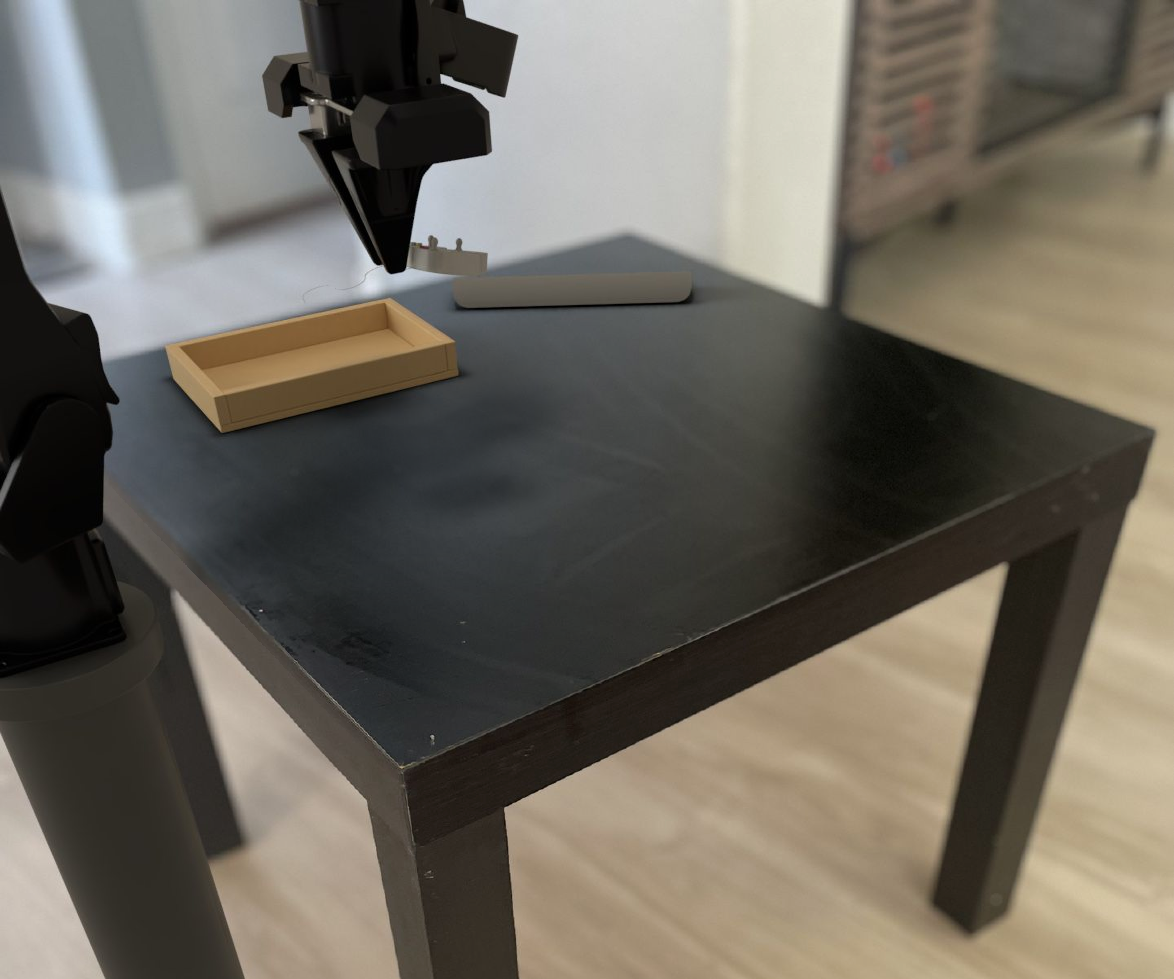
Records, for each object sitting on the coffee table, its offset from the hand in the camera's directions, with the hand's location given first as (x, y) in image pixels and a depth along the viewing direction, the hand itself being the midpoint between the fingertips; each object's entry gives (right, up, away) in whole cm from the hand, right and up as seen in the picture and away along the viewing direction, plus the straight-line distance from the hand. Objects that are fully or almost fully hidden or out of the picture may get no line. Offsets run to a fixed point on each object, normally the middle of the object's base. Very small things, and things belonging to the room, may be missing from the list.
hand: (390, 268), depth 72 cm
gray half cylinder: (+10, +9, +29) cm, 32 cm away
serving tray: (-8, -1, +17) cm, 19 cm away
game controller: (0, -1, +1) cm, 1 cm away
